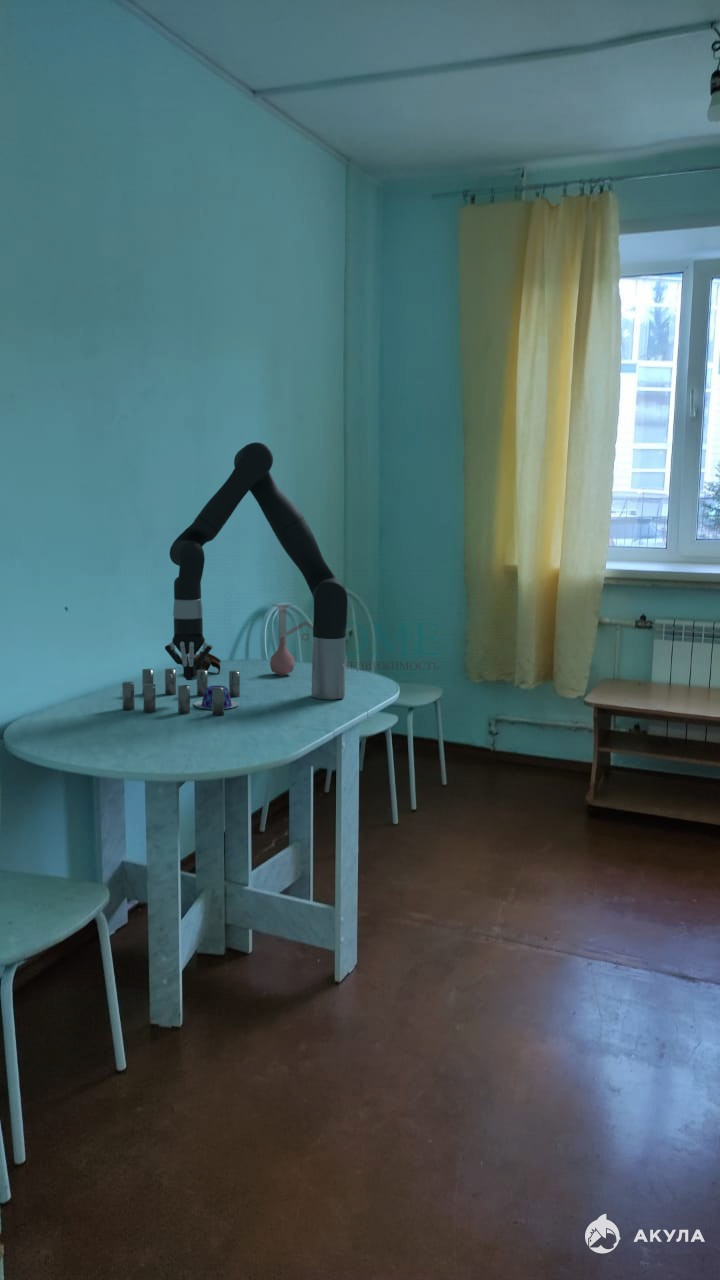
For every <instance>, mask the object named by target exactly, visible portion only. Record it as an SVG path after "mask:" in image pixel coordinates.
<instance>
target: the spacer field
mask: <svg viewBox="0 0 720 1280" xmlns="http://www.w3.org/2000/svg"><path fill="white" fill-rule="evenodd" d="M208 672H209V669H208V670H197V677H196V696H197V697H204V693H205V689H206V688H207V687H208V683H209V679H208V678H209V677H208V675H209V673H208ZM141 675H142V686H141V687H142V695H143V712H144V713H147V714H149V713H150V714H151V713H155V712H156V711H157V710H156V709H157V708H156V684H155V683H154V669H153V668H143V669H142V670H141ZM121 686H122V687H121V688H122V693H121V694H122V710H123V711H133V710H135V682H134V681H123V682H122V685H121ZM240 686H241V671H240V670H229V671H228V691H229V696H230V698H239V697H240V696H241V694H240V693H241V690H240V689H241V688H240ZM164 695H165V696H166V695H167V696H175V695H177V697H178V698H177V713H178V714H179V715H187V714H190V713H191V686H190V685H188V684H180V685H177V669H176V668H165V669H164ZM211 715H212V716H213V717H214V716H215V717H222V716H225V709H224V687H213V688H212V708H211Z"/></svg>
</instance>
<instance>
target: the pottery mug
mask: <svg viewBox="0 0 720 1280" xmlns="http://www.w3.org/2000/svg"><path fill="white" fill-rule="evenodd" d="M202 653H203V650H199V654H196V660H197V659H198V658H199V656H200V655H201V654H202ZM221 662H222V660H221V659H220V658H218V657H217V656H215V655H214V654H212V653H210V652H209V653H208V654H207V656H206V657H205V658H204V660H203V661H202V662H201V663H200V664H198V665H195V677H196V676H197V670H208V671H209V669H210V667H211V666H212V667H214V668H216V669H217V670H218V671H217V675H219V674H220V672H221Z"/></svg>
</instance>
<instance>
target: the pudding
mask: <svg viewBox="0 0 720 1280" xmlns="http://www.w3.org/2000/svg"><path fill="white" fill-rule="evenodd" d="M213 687H224V710H227V709H233V708H235V707H238V706H239V705H240V702H239V701H237V700H235V699H234V700H233V699H231V697H230V696H229V688H228V687H227V686H223V685H209V686H208V687H207V688H206V689H205V693H204V696H202V697H203V698H202V699H200V700H197V701H195V702H194V703H193V705H194V706H195V707H196V708H197V707H198V708H200V709H204V710H205V709H207V710H211V709H212V688H213Z"/></svg>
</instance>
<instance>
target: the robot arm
mask: <svg viewBox="0 0 720 1280" xmlns="http://www.w3.org/2000/svg"><path fill="white" fill-rule="evenodd" d="M233 460H234V461H233V466H234V468H233V471H232V472H231V473H230V475H229V477H227V479H226V481H225V482H224V483H223V484H222V486H221V487H220V488H219V489H218V490H217V491H216V492H215V493H214V495H213V496H212V497H210V499H209V501H207V503H206V504H205V505H204V506H203V508H202V509H201V511H200V512H199V514H198V515H197V516H196V517H195V519H194V521H192V523H191V524H190V525H189V526H188V527H187V528H186V529H185V530H183V532H181V533H180V534H179V536H177V537H176V539H175V540H174V541H173V543H172V544H171V546H170V548H169V558H170V560H171V562H172V563H173V564H175V565H176V566H178V567H179V572H178V576H177V577H176V578H175V579H174V581H173V582H174V583H173V599H174V600H173V612H172V615H173V637H172V640H171V642H170V643H169V644H167V645H165V646H164V650H165V651H166V652H167V654H168V655H169V656H170V657H171V658H172V660H173V661H174V662H175V664H177V665H181V666H182V667H183V668H182V669H183V671H182V672H183V678H184V679H185V681H192V680H194V679H195V678H196V676H195V665H198V664H200V663H201V662H202V661H203V660H204V658H205V657H206V656H207V654H208V653H209V654H210V652H211V650H213V645H212V644H209V643H207V642H206V641H205V640H206V638H205V637H204V635H203V634H204V630H203V627H204V626H203V603H202V587H201V586H202V585H201V584H202V578H203V572H204V567H205V559H206V558H205V557H206V556H205V552H204V548H203V547H204V545H205V544H207V543H209V542H211V541H213V540H214V539H215V538H216V537H217V536H218V534H219V533H220V532H221V530H222V529H223V527H224V526H225V525H226V523H227V522H228V521H229V519H230V518H231V516H232V515H233V513H234V511H235V510H236V508H237V507H238V505H239V504H240V503H241V501H242V500H243V499H244V497H245V496H246V495H247V493H249V491H250V494H251V495H252V496H253V498H254V499H255V501H256V502H257V504H258V505H259V507H260V510H261V511H262V513H263V515H264V517H265V519H266V521H267V522H268V524H269V526H270V527H271V529H272V531H273V533H274V535H275V537H276V539H277V541H278V542H279V544H280V546H281V547H282V549H283V550H284V551H285V553H286V555H288V557H289V558H290V559H291V561H292V562H293V563H294V564H295V566H296V567H297V568H298V569H299V571H300V573H301V575H302V576H303V578H304V580H305V581H306V584H307V586H308V589H309V591H310V593H311V595H312V598H313V624H312V648H311V649H312V650H311V651H312V652H311V653H312V659H311V660H312V661H311V666H312V667H311V697H312V698H315V699H318V700H338V699H339V700H341V699H343V700H344V698H345V693H346V666H347V665H346V632H347V625H348V623H347V622H348V620H347V619H348V593H347V590H346V587H344V585H343V584H342V582H341V581H339V579H338V578H337V577H336V575H335V574H334V573H333V572H332V569H331V568H330V567H329V566H328V564H327V562H326V561H325V558H324V557H323V555H322V553H321V550H320V547H319V545H318V542H317V539H316V538H315V535H314V533H313V531H312V530H311V528H310V526H309V524H308V522H307V520H306V519H305V517H304V515H303V513H302V512H301V510H299V508H298V507H297V505H295V504H294V502H292V501H291V500H290V499H289V498H288V497H287V496H286V495H285V494H284V493H283V492H282V491H281V489H280V488H279V487H278V485H277V483H276V481H275V480H274V477H273V476H272V473H271V472H270V470H271V469H272V467H273V463H274V455H273V451H272V450H271V449H270V448H269V447H268V445H267V444H265V443H262V442H258V441H257V442H251V443H249V444H246V445H245V446H243V447H242V448H241V449H240V450H238V451H237V453H236V454H235V457H234V459H233ZM176 649H177V650H178V651H179V653H180V654H181V655H179V653H178V652H177V651H176ZM200 649H201V651H203V653H202V654H201V655H200V656H199V658H198V659H197V660H196V655H197V653H198V652H200Z"/></svg>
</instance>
